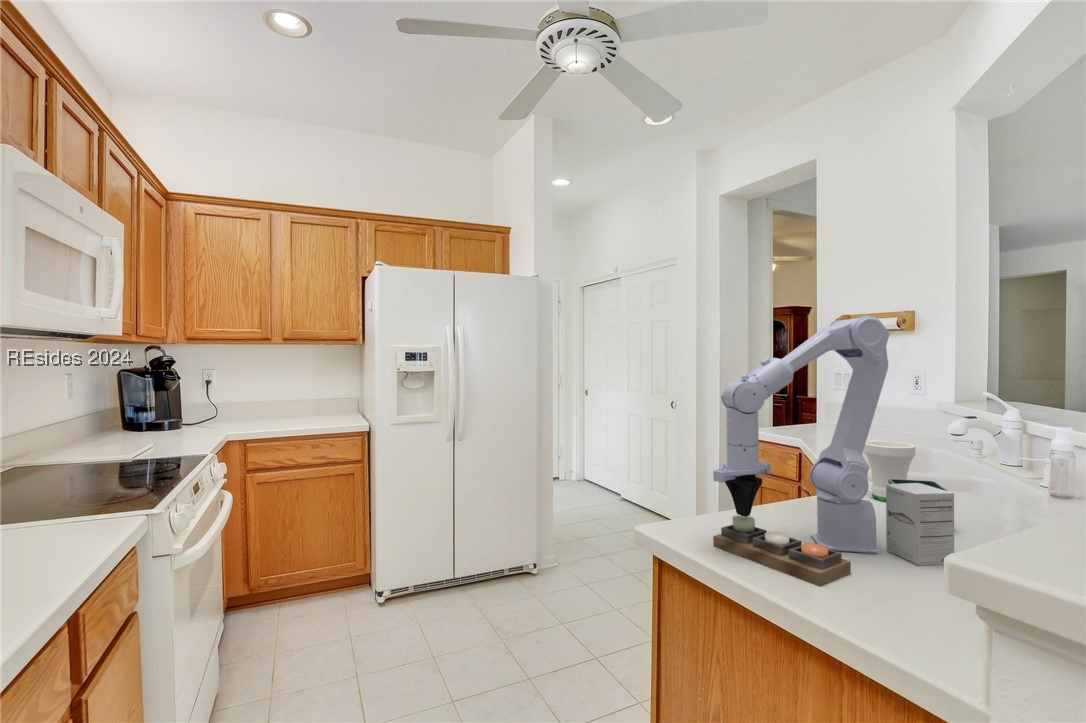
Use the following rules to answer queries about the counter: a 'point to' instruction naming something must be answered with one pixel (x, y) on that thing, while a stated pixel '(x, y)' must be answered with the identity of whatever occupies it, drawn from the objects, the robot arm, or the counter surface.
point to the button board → (782, 555)
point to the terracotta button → (814, 550)
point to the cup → (888, 463)
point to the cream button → (777, 538)
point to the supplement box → (919, 522)
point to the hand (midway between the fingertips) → (743, 514)
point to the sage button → (743, 524)
